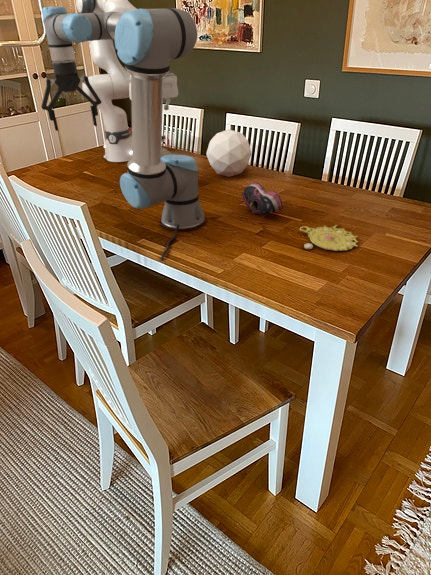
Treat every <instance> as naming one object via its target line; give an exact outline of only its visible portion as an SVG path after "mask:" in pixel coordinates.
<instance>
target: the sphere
mask: <svg viewBox="0 0 431 575" xmlns="http://www.w3.org/2000/svg"><path fill="white" fill-rule="evenodd" d="M252 154H253V152H252V148H251V145H250V143H249V140H248V139H247V138H246V136H245V135H244V134H243V133H242V132H240V131H236V130H232V129H226V130H222V131H221V132H217V133H216V134H215V135H214V136H213V137H212V138H211V139H210V140H209V142H208V147H207V150H206V158H207V160H208V162H209V165H210V166H211V168H212V169H213V170H214V172H215V173H216V174H217V175H221V176H224V177H227V178H230V177H233V176H238V175H240V174H242V173H243V172H244V170H245V169H246V168H247V166H249V162H250V160H251V157H252Z"/></svg>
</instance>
